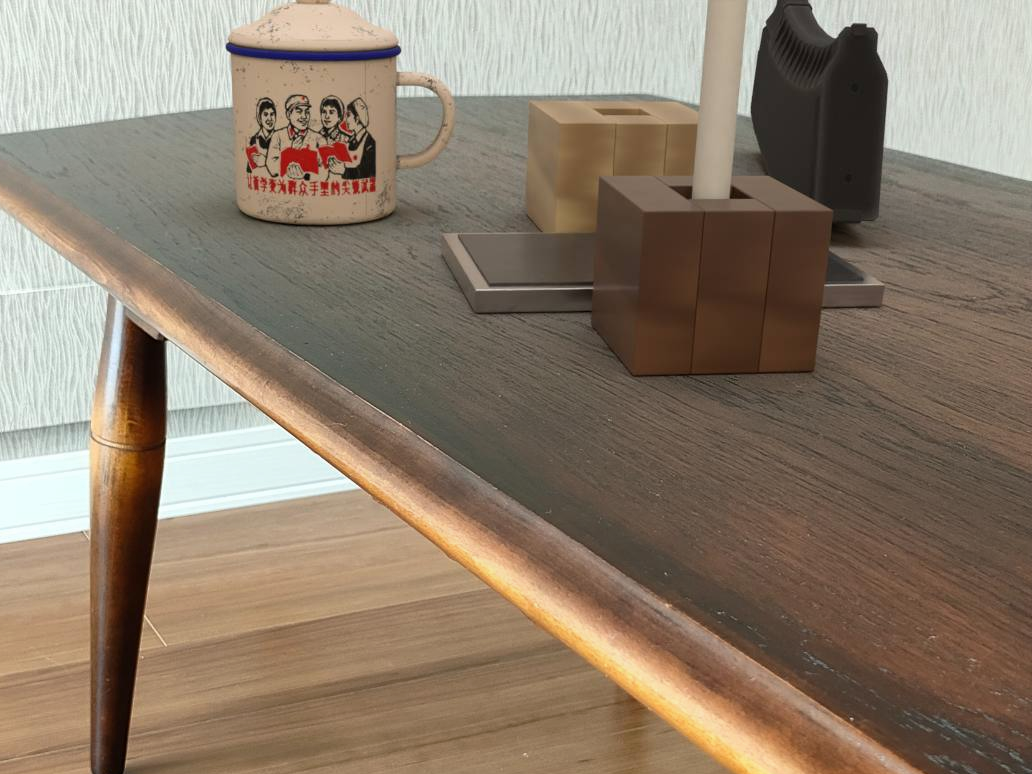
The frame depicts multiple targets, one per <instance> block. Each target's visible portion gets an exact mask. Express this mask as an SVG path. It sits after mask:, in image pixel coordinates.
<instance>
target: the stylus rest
mask: <svg viewBox="0 0 1032 774" xmlns="http://www.w3.org/2000/svg"><path fill="white" fill-rule="evenodd" d="M692 188H693V176H600V177H599V189H598V207H597V225H596V242H595V260H594V278H593V296H592V311H591V317H590V318H591V319H590V325H591V326H592V327H593V328H594V329H595V331H596V332H597V334H599V336H600V337H601V338H602V340H604V342H605V343H606V344H607V345H608V347H609V348H610V349H611V351H613V353H614V354H615V356H616V357H617V358H618V359H619V360H620V361H621V363H622V364H623V365H624V366H625V367H626V369H627V370H628V371H629V373H631V375H632V376H671V375H672V376H673V375H690V374H691V375H707V374H709V375H710V374H711V375H712V374H716V375H717V374H753V373H754V374H755V373H791V372H792V373H793V372H794V373H795V372H797V373H798V372H814V371H815V367H816V366H815V365H816V359H817V358H816V357H817V350H818V343H819V342H818V341H819V333H820V325H821V316H822V310H823V307H822V301H823V293H824V285H825V277H826V269H827V260H828V252H829V251H830V242H831V236H832V235H831V234H832V228H833V223H832V219H833V210H831V209H829V208H828V207H826V206H824V205H822V204H820V203H818V202H816V201H814V200H813V199H811V198H809V197H807V196H805V195H803V194H801V193H800V192H798V191H796V190H794V189H792V188H790V187H788V186H787V185H785V184H783V183H781V182H779V181H777V180H775V179H773V178H772V177H770V176H769V175H731V186H730V197H729V199H692Z"/></svg>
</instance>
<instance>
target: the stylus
mask: <svg viewBox="0 0 1032 774" xmlns="http://www.w3.org/2000/svg"><path fill="white" fill-rule="evenodd" d="M748 2H749V1H748V0H707V9H706V17H705V18H706V20H705V31H704V42H703V43H704V44H703V56H702V66H701V67H702V69H701V81H700V92H699V93H700V94H699V103H698V104H699V105H698V112H699V115H698V128H697V140H696V152H695V164H694V176H693V188H692V199H729V197H730V186H731V176H733V175H732V174H733V163H734V152H735V142H736V131H737V121H738V120H737V119H738V109H739V99H740V97H739V96H740V89H741V78H742V68H743V57H744V56H743V55H744V46H745V33H746V24H747V23H746V22H747V13H748Z"/></svg>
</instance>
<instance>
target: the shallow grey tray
mask: <svg viewBox="0 0 1032 774" xmlns="http://www.w3.org/2000/svg"><path fill="white" fill-rule="evenodd" d="M440 241H441V242H440V243H441V244H440V245H441V246H440V247H441V249H440V251H441V252H440V253H441V255H442V257H443V259H444V261H445V262H446V264H447V265H448V267H449V269H450V271H451V273H452V275H453V277H454V278H455V280H456V282H457V284H458V286H459V287H460V289H461V291H462V293H463V294H464V296H465V297H466V300H467V301H468V303H469V305H470V306H471V308H472V310H473V312H474V314H489V313H490V314H491V313H493V314H494V313H548V312H549V313H551V312H553V313H554V312H555V313H557V312H558V313H559V312H561V313H562V312H592V296H593V278H594V260H595V242H596V232H546V233H543V232H451V233H450V232H443V233H441V240H440ZM885 286H886V284H885V283H883V282H882V281H880V280H879V279H877V278H875V277H873V276H872V275H871V274H869V273H867V272H865V271H864V270H862V269H861V268H859V267H858V266H856V265H854V264H852V263H851V262H849V261H847V260H846V259H844V258H842V257H841V256H839V255H837V254H836V253H834V252H832V251H831V250H829V252H828V260H827V269H826V277H825V285H824V293H823V301H822V308H862V307H863V308H864V307H866V308H868V307H871V308H872V307H882V306H883V301H884V300H883V299H884V292H885Z"/></svg>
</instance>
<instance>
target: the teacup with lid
mask: <svg viewBox="0 0 1032 774" xmlns="http://www.w3.org/2000/svg"><path fill="white" fill-rule="evenodd" d="M331 1H332V0H295V1H293V2H286V3H282V4H280V5H276V6H275V7H273V8H272V9H270V10H269V11H268V12H267V13H265V14H264V15H263V16H261V17H260V18H259V19H257V20H255V21H253V22H251V23H249V24H244V25H241V26H237V27H236V28H233V29H232V30H231V31H230V33H229V35H228V37H227V41H228V42H227V43H226V44H225V50H226V51H227V52H228V53H230V70H231V93H232V96H231V97H232V117H233V139H234V163H235V187H236V188H235V189H236V202H237V206H238V209H239V210H240V211H241V212H243V213H244V214H245V215H247V216H249V217H252V218H256V219H258V220H263V221H267V222H273V223H279V224H280V223H281V224H289V225H302V226H303V225H307V226H334V225H350V224H357V223H365V222H370V221H375V220H378V219H381V218H384V217H387V216H389V215H390V214H391V213H392V212H393V211H394V210H395V209H396V206H397V170H410V169H417V168H420V167H423V166H426V165H428V164H430V163H431V162H433V161H434V160H435V159H437V158H438V157H439V156H440V155H441V154H442V152H443V151H444V150H445V148H446V147H447V146H448V143H449V142H450V139H451V137H452V135H453V131H454V128H455V124H456V114H457V112H456V103H455V100H454V97H453V96H454V95H453V94H452V92H451V91H450V89H449V88H448V86H447V85H446V84H445V83H444V82H443V81H442V80H441V79H439V78H437V77H436V76H434V75H432V74H430V73H426V72H421V71H397V67H398V66H397V63H398V61H397V60H398V59H397V58H398V57H397V56H399V55H401V53H402V48H401V46H400V45H399V43H400V40H399V38H398V36H397V35H396V33H395V32H392V31H391V30H389V29H385V28H382V27H380V26H378V25H375V24H373V23H371V22H369V21H368V20H366V19H365V18H364V17H362V16H361V15H360V14H358V13H357V11H355V10H353V9H352V8H350V7H348V6H345V5H343V4H339V3H335V2H331ZM398 87H421V88H425V89H427V90H429V91H431V92H433V93H434V94H435V95H436V96H437V97H438V98H439V100H440V102H441V105H442V110H443V111H442V121H441V125H440V128H439V131H438V132H437V134H436V136H435V138H434V139H433V141H432V142H431V143H429V145H428V146H427V147H425V148H424V149H422V150H420V151H417V152H414V153H407V154H397V136H398V135H397V126H398V125H397V117H398V116H397V115H398V114H397V107H398V106H397V102H398V101H397V97H398V96H397V93H398V91H397V88H398Z"/></svg>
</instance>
